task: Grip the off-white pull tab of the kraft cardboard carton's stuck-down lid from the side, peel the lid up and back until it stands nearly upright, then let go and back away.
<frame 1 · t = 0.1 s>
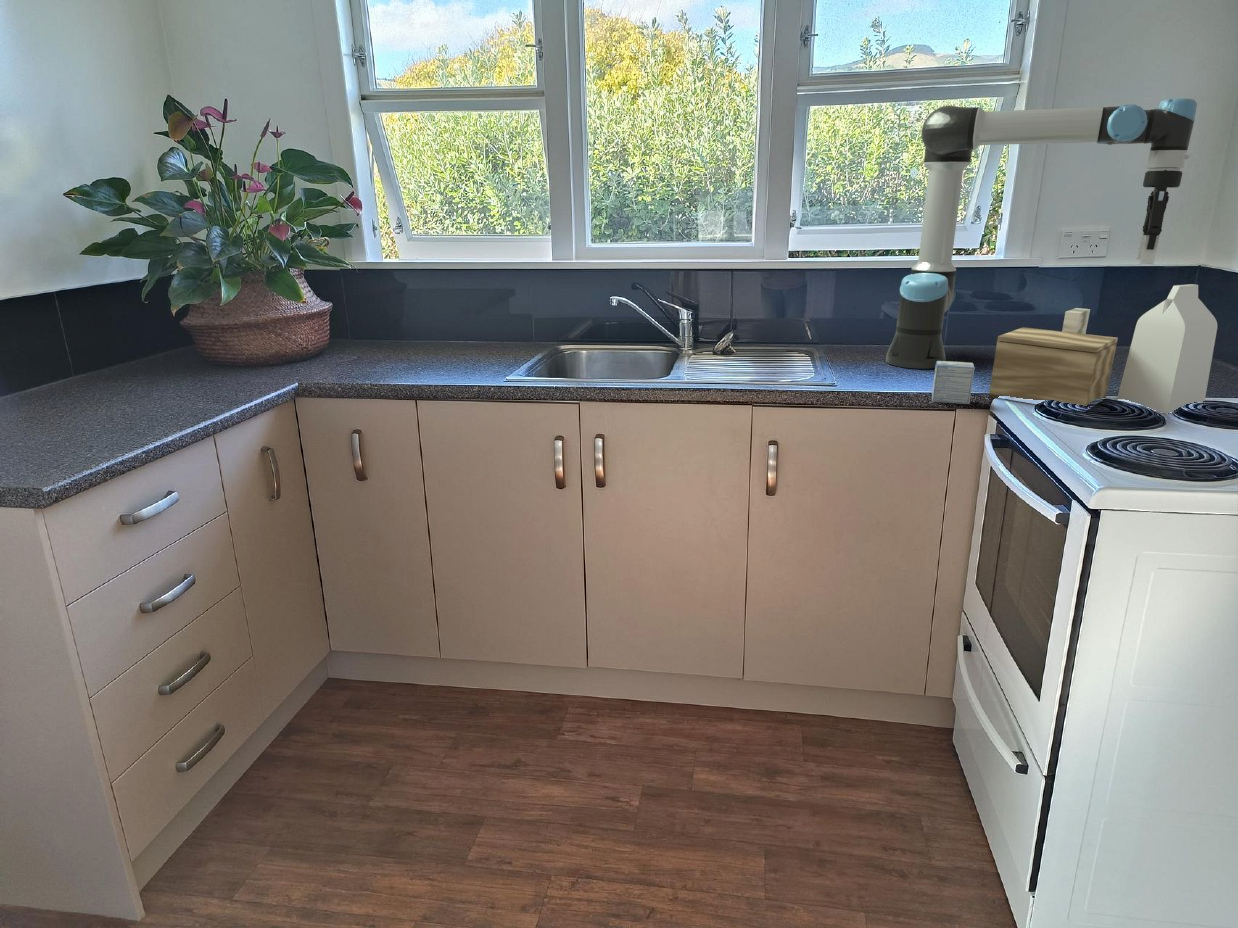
hand: (1144, 261, 199), 28 cm above the table, tool pointing down, fingers open, 13 cm apart
milk: (1158, 405, 178), on the table
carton: (1046, 398, 184), on the table
grey wooden block: (950, 402, 182), on the table
lid: (1063, 332, 182), point 15 cm above the table, hinge at 0.0°
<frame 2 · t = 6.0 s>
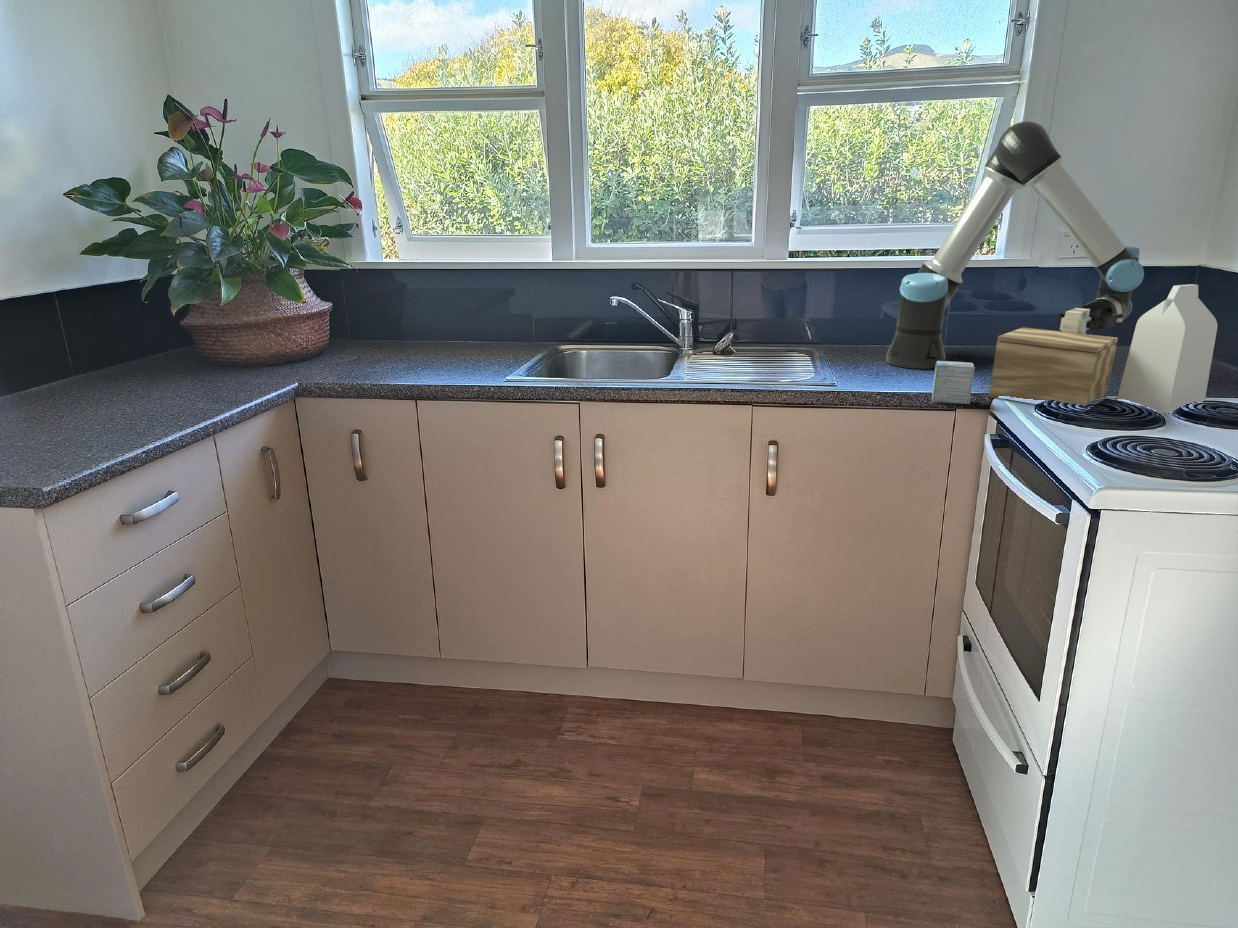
hand: (1071, 325, 185), 15 cm above the table, tool horizontal, fingers closed on lid, 3 cm apart
lid: (1063, 332, 182), point 14 cm above the table, hinge at 0.0°, touching gripper
everything else where it was.
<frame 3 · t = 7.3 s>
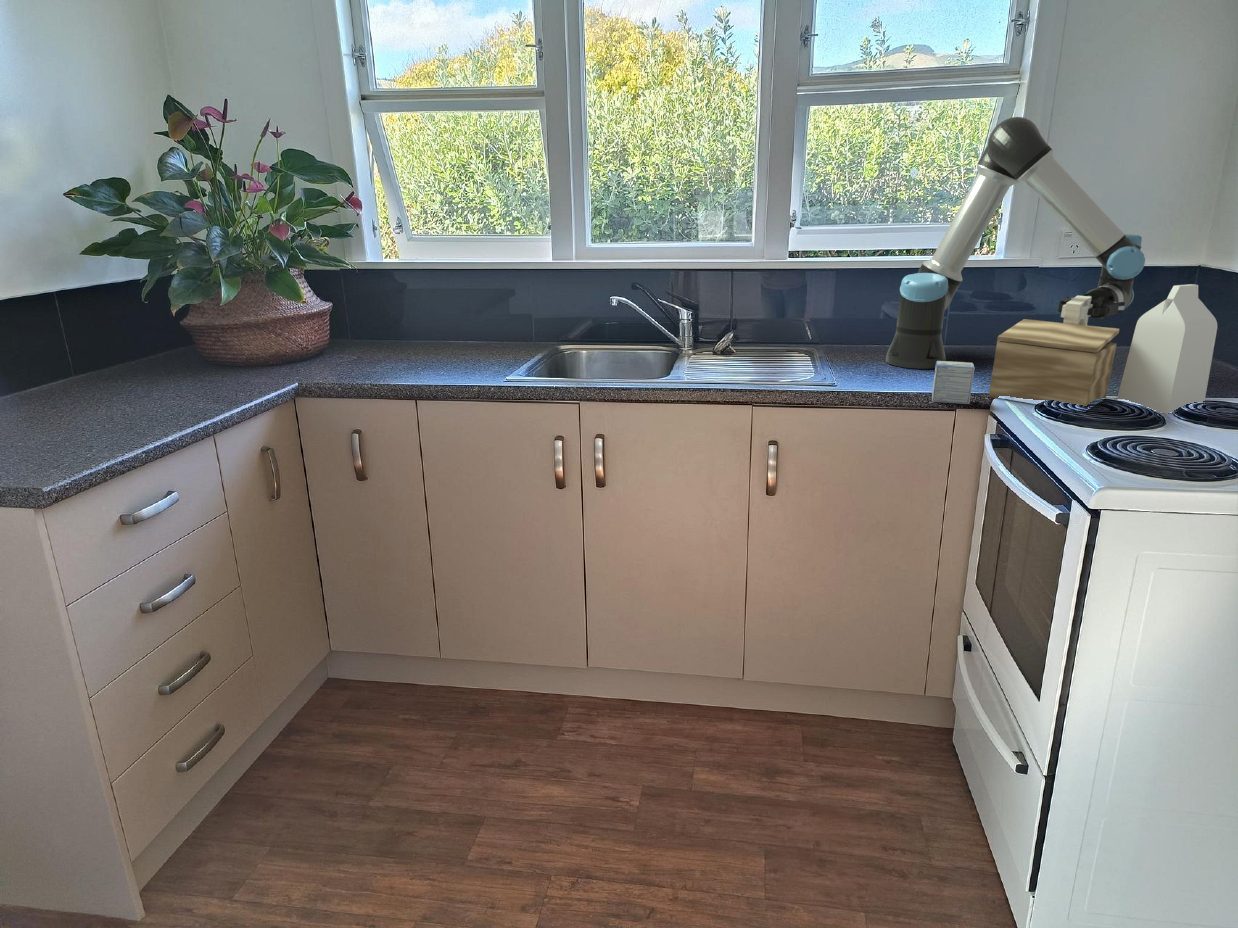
hand: (1072, 312, 183), 19 cm above the table, tool horizontal, fingers closed on lid, 3 cm apart
lid: (1064, 325, 181), point 16 cm above the table, hinge at 7.2°, touching gripper
everything else where it was.
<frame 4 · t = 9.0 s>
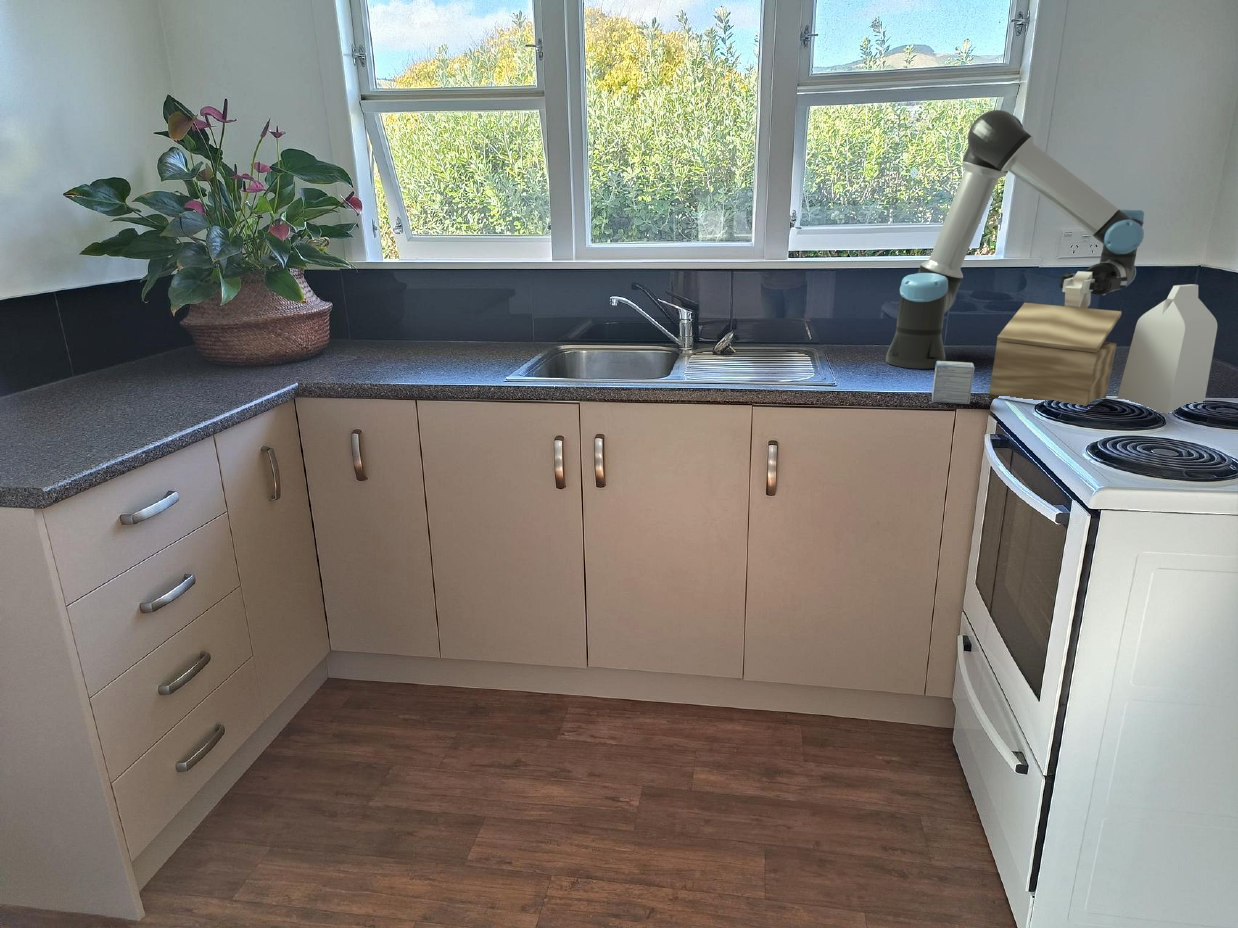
hand: (1074, 286, 180), 24 cm above the table, tool horizontal, fingers closed on lid, 3 cm apart
lid: (1065, 313, 179), point 19 cm above the table, hinge at 22.1°, touching gripper
everything else where it was.
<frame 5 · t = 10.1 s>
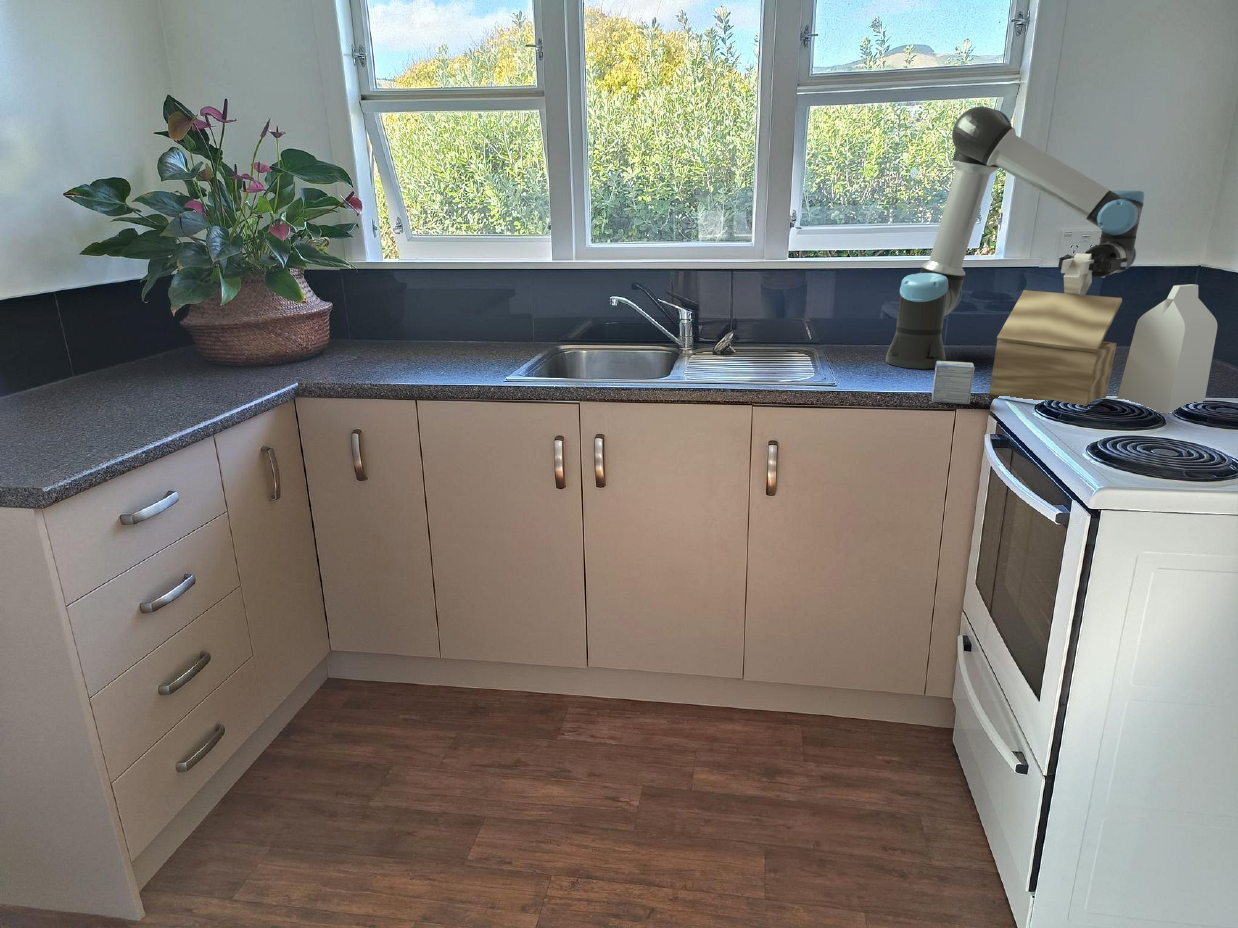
hand: (1073, 267, 176), 29 cm above the table, tool horizontal, fingers closed on lid, 3 cm apart
lid: (1064, 303, 177), point 21 cm above the table, hinge at 35.1°, touching gripper
everything else where it was.
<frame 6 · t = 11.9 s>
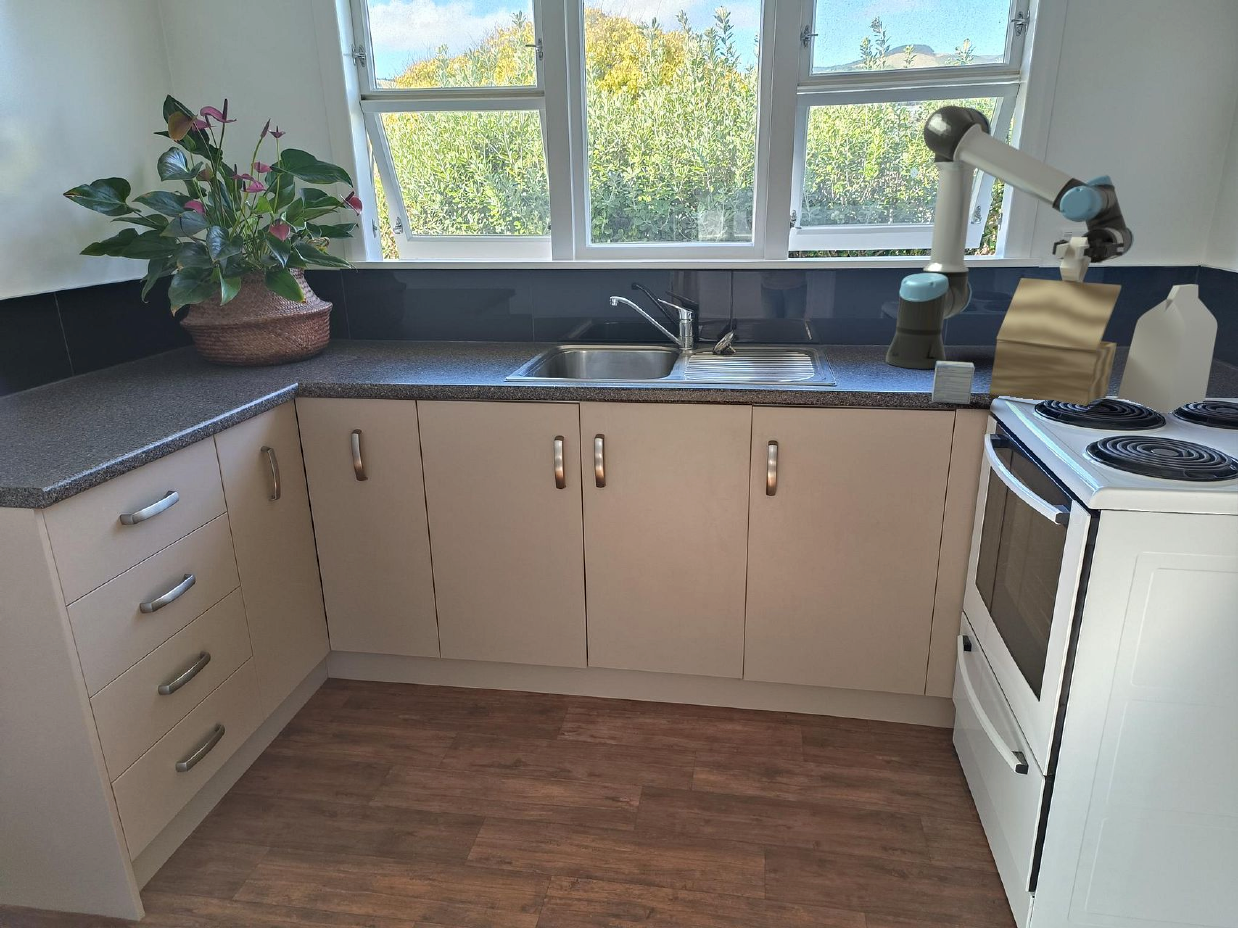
hand: (1067, 252, 171), 32 cm above the table, tool horizontal, fingers closed on lid, 3 cm apart
lid: (1063, 295, 175), point 23 cm above the table, hinge at 50.6°, touching gripper
everything else where it was.
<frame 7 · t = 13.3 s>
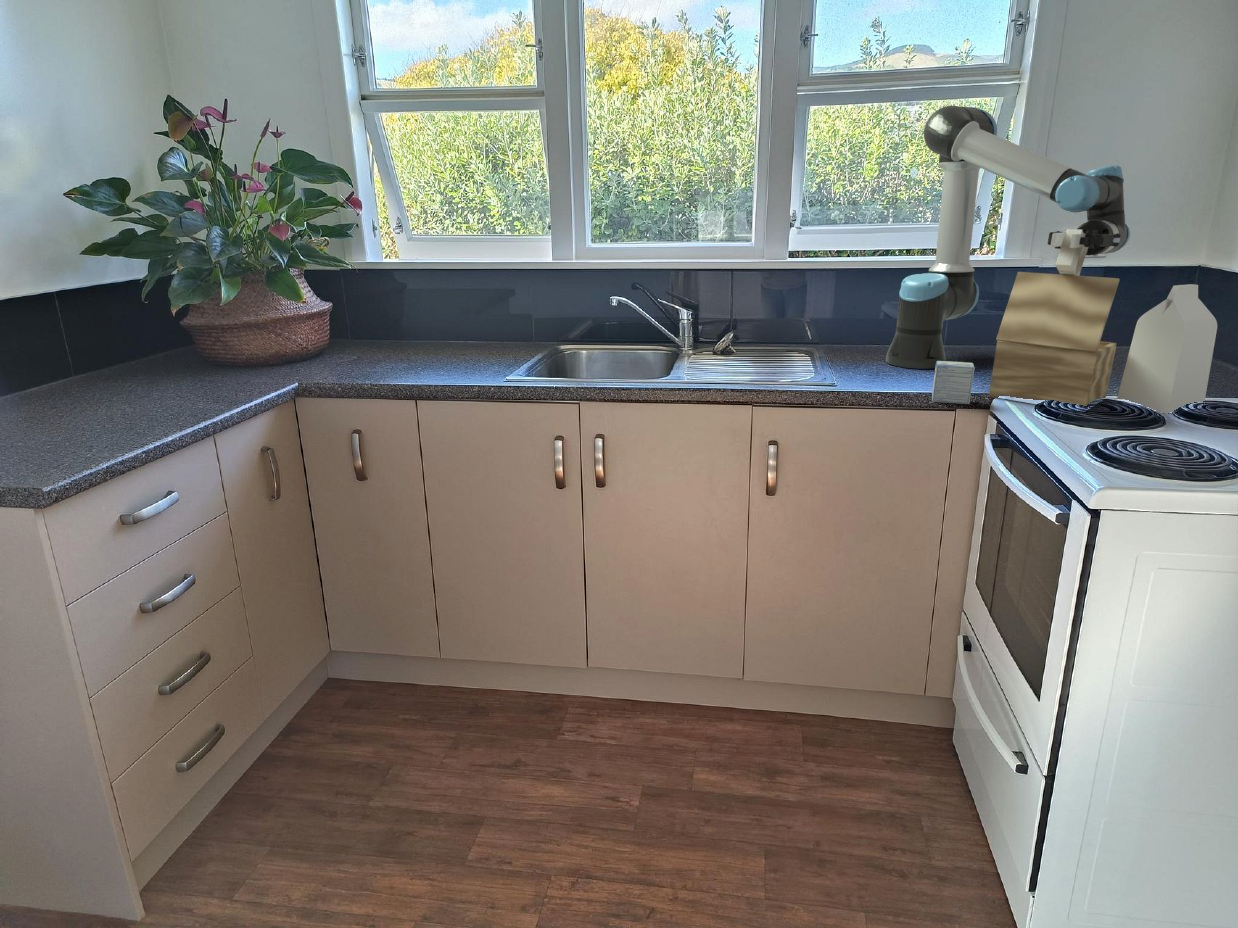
hand: (1063, 240, 167), 35 cm above the table, tool horizontal, fingers closed on lid, 3 cm apart
lid: (1060, 290, 173), point 24 cm above the table, hinge at 62.2°, touching gripper
everything else where it was.
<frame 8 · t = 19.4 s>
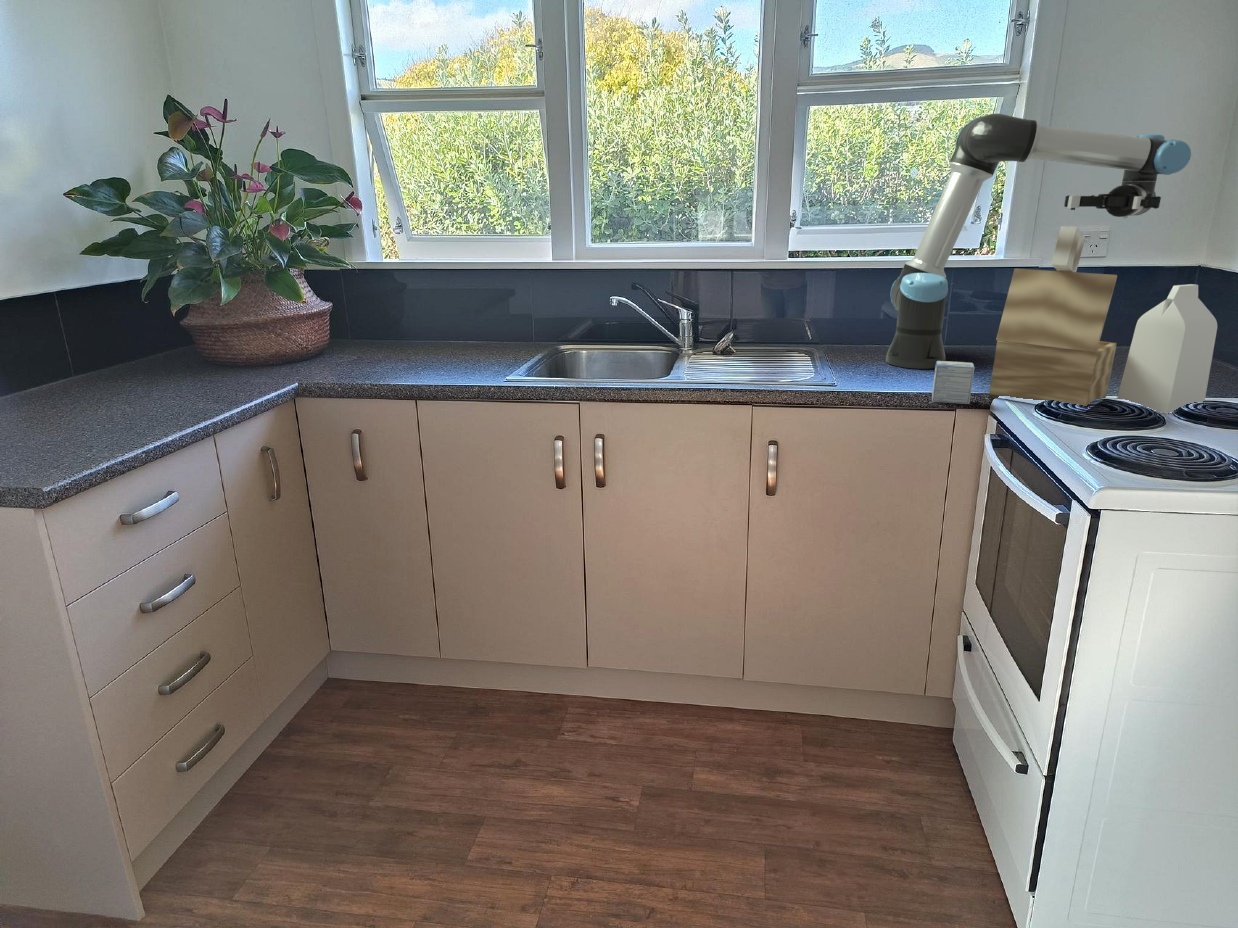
hand: (1101, 202, 188), 42 cm above the table, tool horizontal, fingers open, 13 cm apart
lid: (1058, 289, 171), point 25 cm above the table, hinge at 71.9°
everything else where it was.
at the end: lid at +72° (first picture: +0°); the gripper is holding nothing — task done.
